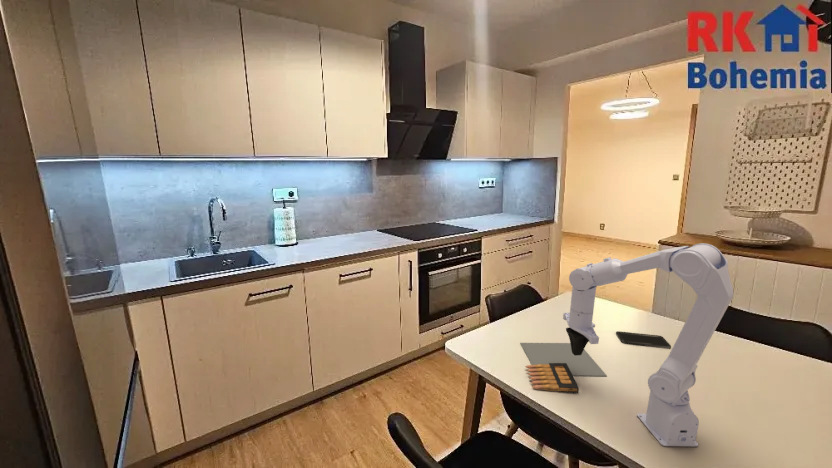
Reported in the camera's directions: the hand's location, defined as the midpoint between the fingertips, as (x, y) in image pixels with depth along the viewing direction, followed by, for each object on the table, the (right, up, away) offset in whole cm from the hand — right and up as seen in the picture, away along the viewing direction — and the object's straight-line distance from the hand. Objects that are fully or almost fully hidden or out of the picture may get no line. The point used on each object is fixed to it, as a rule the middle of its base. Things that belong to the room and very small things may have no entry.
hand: (576, 354), depth 97 cm
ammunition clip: (-1, -7, 0) cm, 7 cm away
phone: (+33, -4, +23) cm, 40 cm away
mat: (0, -6, +12) cm, 13 cm away
